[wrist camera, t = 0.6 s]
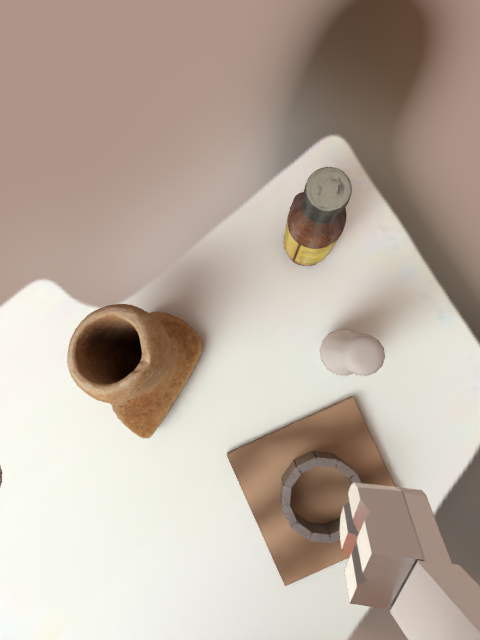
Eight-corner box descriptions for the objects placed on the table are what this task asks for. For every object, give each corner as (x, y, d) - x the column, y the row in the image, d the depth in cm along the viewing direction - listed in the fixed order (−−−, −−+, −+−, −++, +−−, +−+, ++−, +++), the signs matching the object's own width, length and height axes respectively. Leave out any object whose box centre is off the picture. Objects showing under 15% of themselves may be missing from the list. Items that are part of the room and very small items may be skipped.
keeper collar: (371, 511, 53) (379, 521, 50) (300, 543, 53) (303, 556, 50) (338, 439, 53) (343, 444, 50) (267, 471, 53) (268, 478, 50)
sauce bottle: (338, 240, 56) (386, 185, 36) (309, 276, 55) (342, 242, 36) (299, 211, 56) (326, 140, 36) (271, 247, 56) (282, 196, 36)
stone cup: (141, 293, 56) (101, 277, 41) (215, 341, 55) (201, 342, 40) (79, 387, 56) (16, 405, 41) (152, 437, 55) (116, 473, 40)
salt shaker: (352, 379, 55) (384, 392, 42) (311, 365, 55) (329, 373, 42) (366, 338, 55) (402, 337, 42) (325, 323, 55) (348, 319, 42)
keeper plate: (411, 524, 54) (414, 527, 53) (284, 581, 54) (285, 586, 53) (351, 396, 55) (353, 397, 54) (227, 453, 55) (226, 455, 54)
